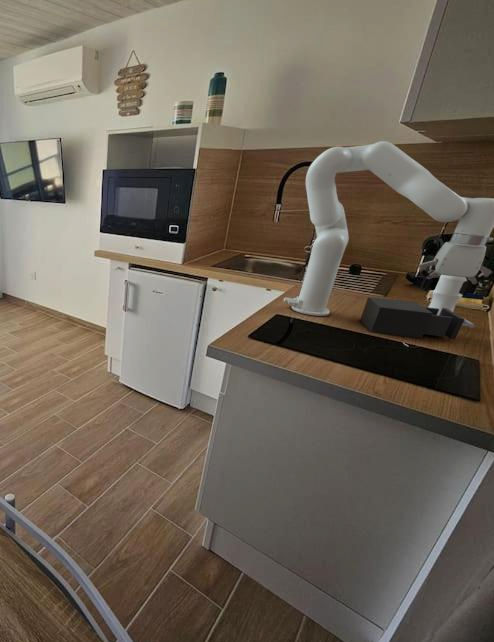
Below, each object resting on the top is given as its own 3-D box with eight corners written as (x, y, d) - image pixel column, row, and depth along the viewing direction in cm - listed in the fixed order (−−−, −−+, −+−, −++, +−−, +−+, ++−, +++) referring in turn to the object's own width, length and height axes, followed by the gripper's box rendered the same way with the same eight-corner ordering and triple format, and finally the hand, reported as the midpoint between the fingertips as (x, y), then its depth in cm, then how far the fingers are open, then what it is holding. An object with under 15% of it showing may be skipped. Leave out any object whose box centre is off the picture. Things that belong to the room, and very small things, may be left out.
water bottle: (436, 318, 140) (466, 253, 130) (454, 326, 133) (486, 257, 124) (416, 318, 141) (444, 252, 131) (432, 325, 134) (463, 257, 124)
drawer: (454, 329, 128) (463, 310, 125) (472, 342, 119) (483, 321, 116) (392, 322, 134) (400, 303, 132) (405, 333, 125) (414, 313, 122)
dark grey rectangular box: (406, 325, 134) (416, 302, 130) (421, 338, 124) (433, 313, 120) (359, 320, 139) (368, 297, 135) (371, 331, 129) (380, 307, 125)
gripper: (498, 240, 115) (471, 292, 122) (426, 235, 121) (404, 285, 128) (514, 245, 109) (485, 299, 116) (437, 239, 115) (414, 291, 122)
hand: (442, 292), depth 122 cm, fingers open, 9 cm apart
